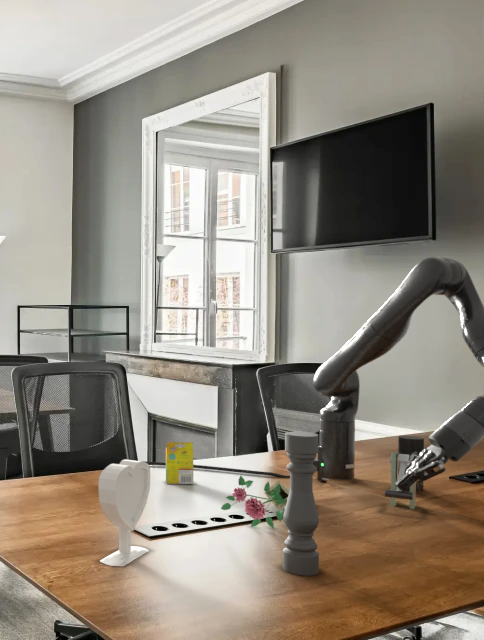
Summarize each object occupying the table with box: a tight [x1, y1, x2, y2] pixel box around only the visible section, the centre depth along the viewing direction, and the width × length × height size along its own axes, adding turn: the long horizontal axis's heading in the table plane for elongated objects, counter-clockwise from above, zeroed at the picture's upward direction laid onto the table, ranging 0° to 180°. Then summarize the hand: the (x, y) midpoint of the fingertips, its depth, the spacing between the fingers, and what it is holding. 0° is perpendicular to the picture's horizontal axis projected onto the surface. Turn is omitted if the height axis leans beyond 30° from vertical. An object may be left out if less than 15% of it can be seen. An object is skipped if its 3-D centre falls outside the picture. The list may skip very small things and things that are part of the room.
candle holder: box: [282, 431, 320, 577], centre depth 136 cm, size 6×6×25 cm
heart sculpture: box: [97, 458, 152, 567], centre depth 143 cm, size 16×5×18 cm, turn 144°
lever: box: [384, 454, 413, 501], centre depth 173 cm, size 15×6×2 cm, turn 147°
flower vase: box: [220, 474, 290, 530], centre depth 167 cm, size 12×12×35 cm
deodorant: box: [397, 435, 425, 493], centre depth 195 cm, size 6×6×15 cm
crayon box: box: [165, 441, 195, 485], centre depth 206 cm, size 7×3×12 cm, turn 84°
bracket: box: [388, 451, 417, 510], centre depth 178 cm, size 10×9×14 cm
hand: (398, 487), depth 168 cm, fingers closed
